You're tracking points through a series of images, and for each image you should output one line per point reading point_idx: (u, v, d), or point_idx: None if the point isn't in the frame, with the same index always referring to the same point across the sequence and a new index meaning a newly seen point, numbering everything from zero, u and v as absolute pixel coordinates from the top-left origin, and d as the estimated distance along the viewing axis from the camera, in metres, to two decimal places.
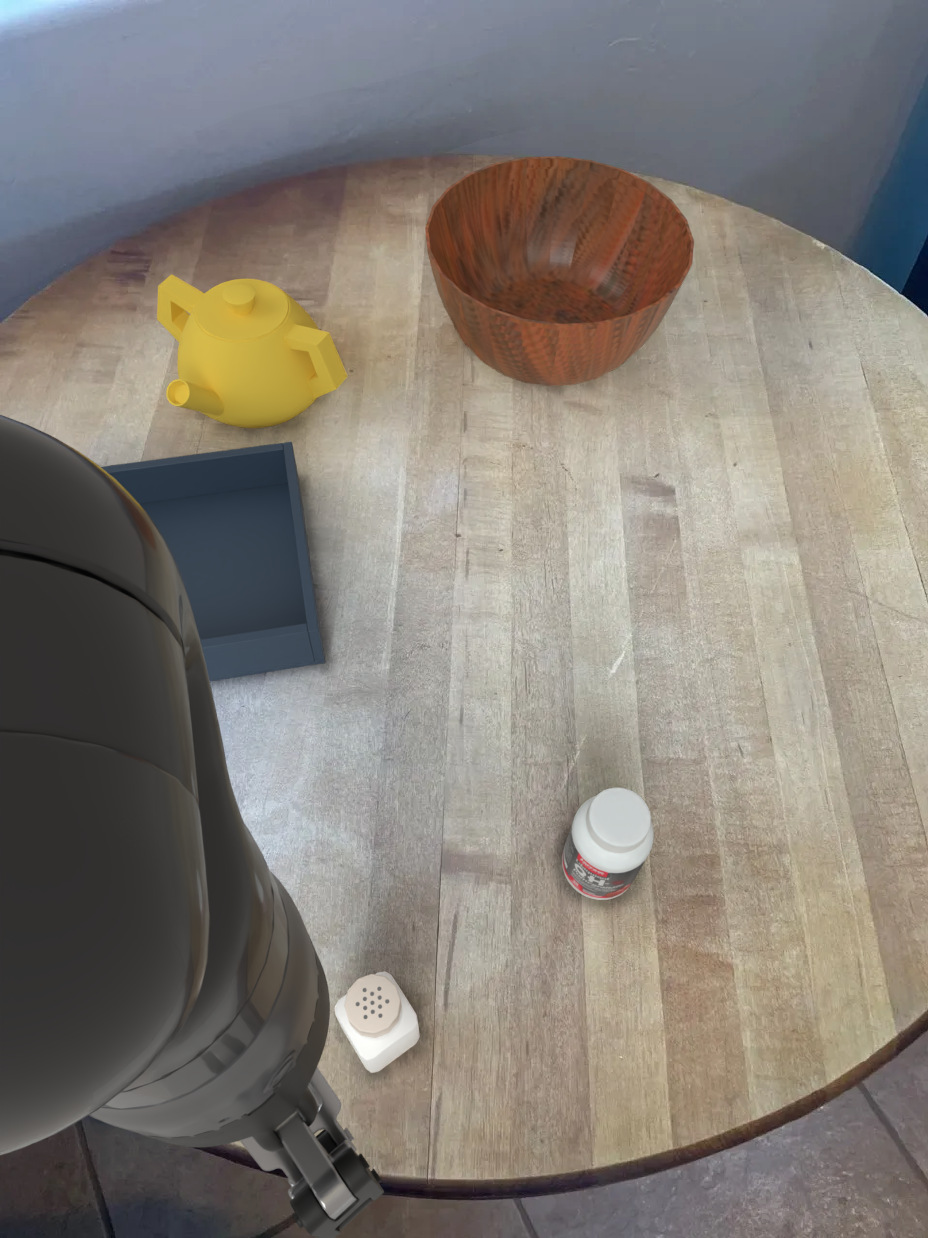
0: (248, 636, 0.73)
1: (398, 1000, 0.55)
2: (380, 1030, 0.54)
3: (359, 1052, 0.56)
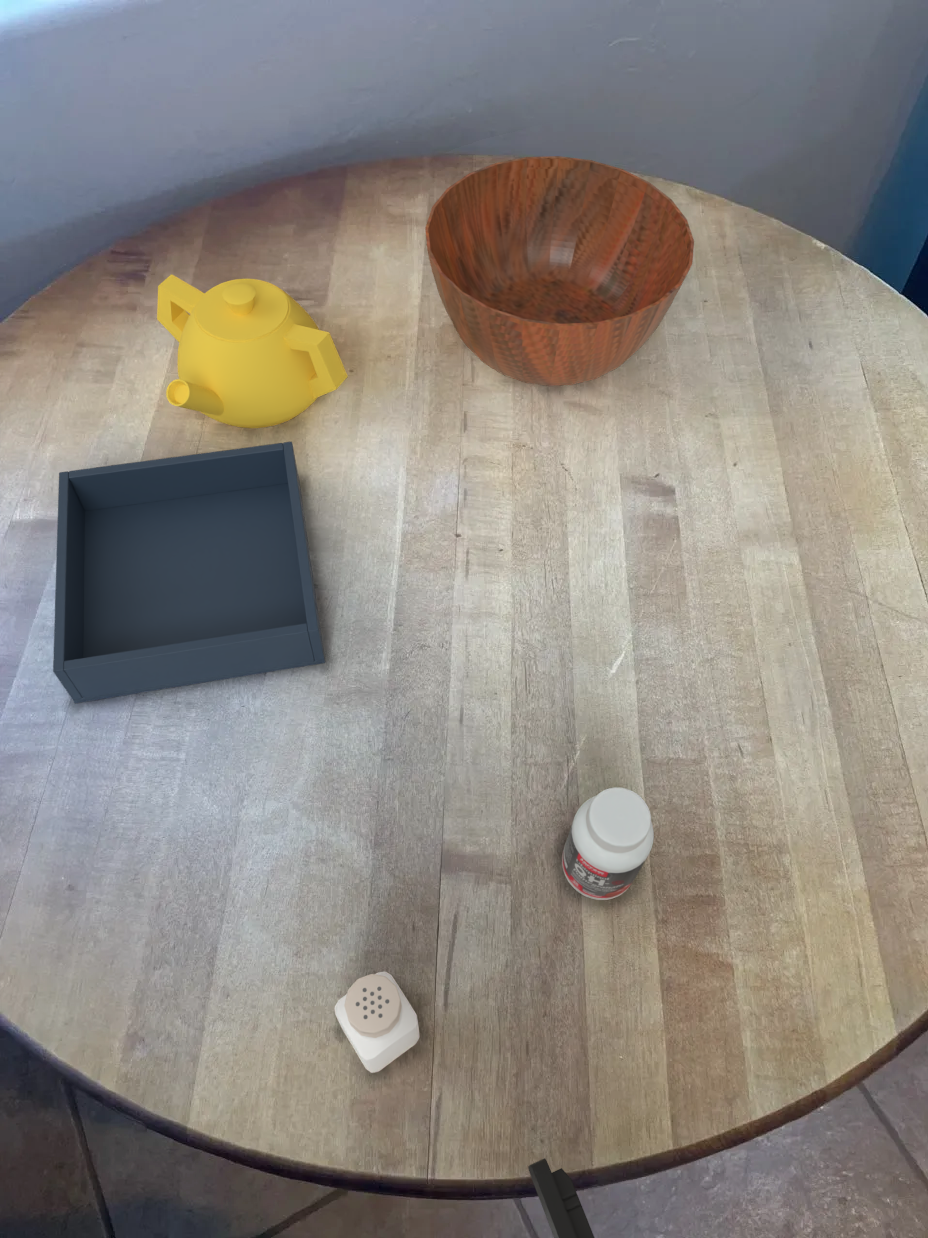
0: (248, 636, 0.73)
1: (398, 1000, 0.55)
2: (380, 1030, 0.54)
3: (359, 1052, 0.56)
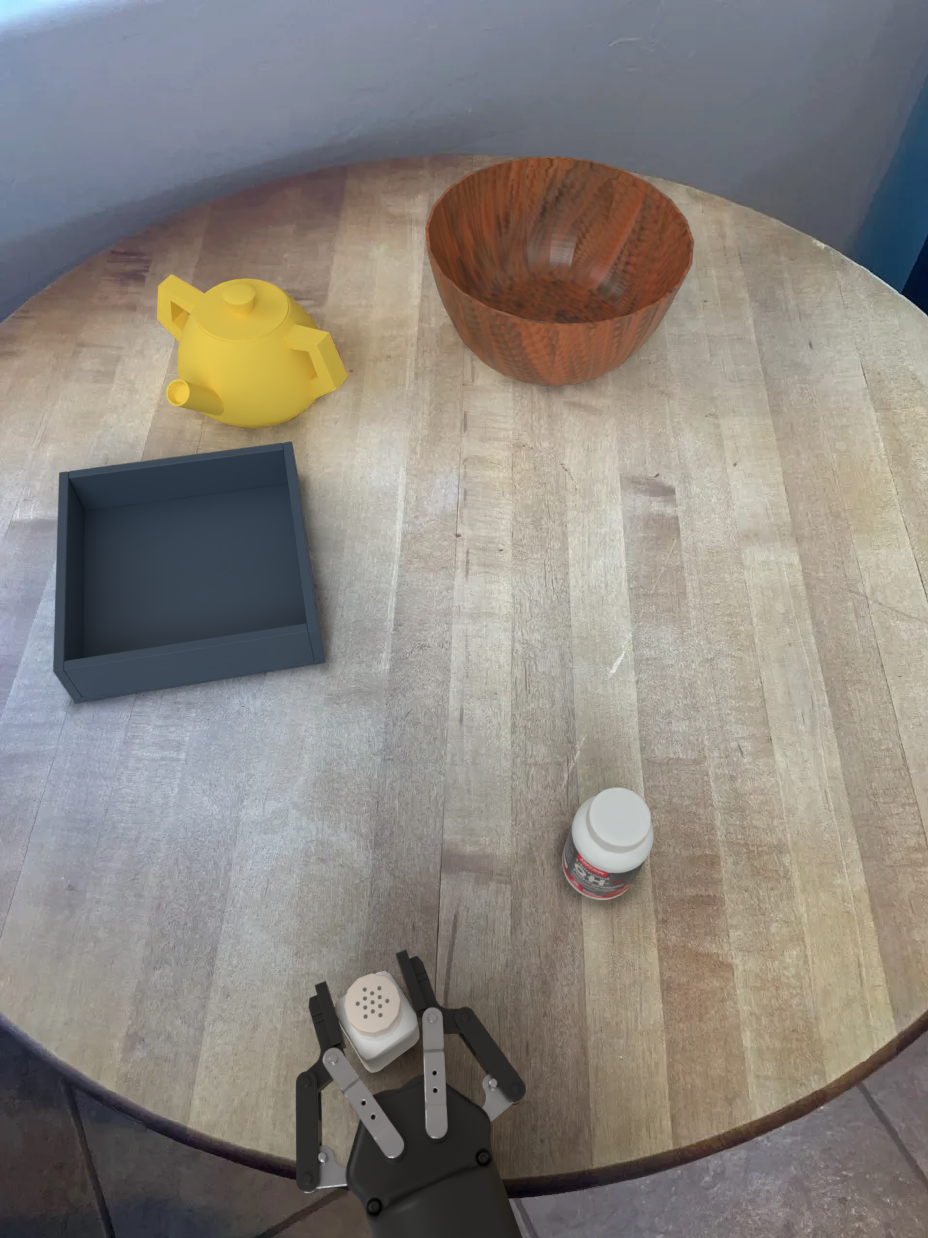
0: (248, 636, 0.73)
1: (398, 1000, 0.55)
2: (380, 1030, 0.54)
3: (359, 1052, 0.56)
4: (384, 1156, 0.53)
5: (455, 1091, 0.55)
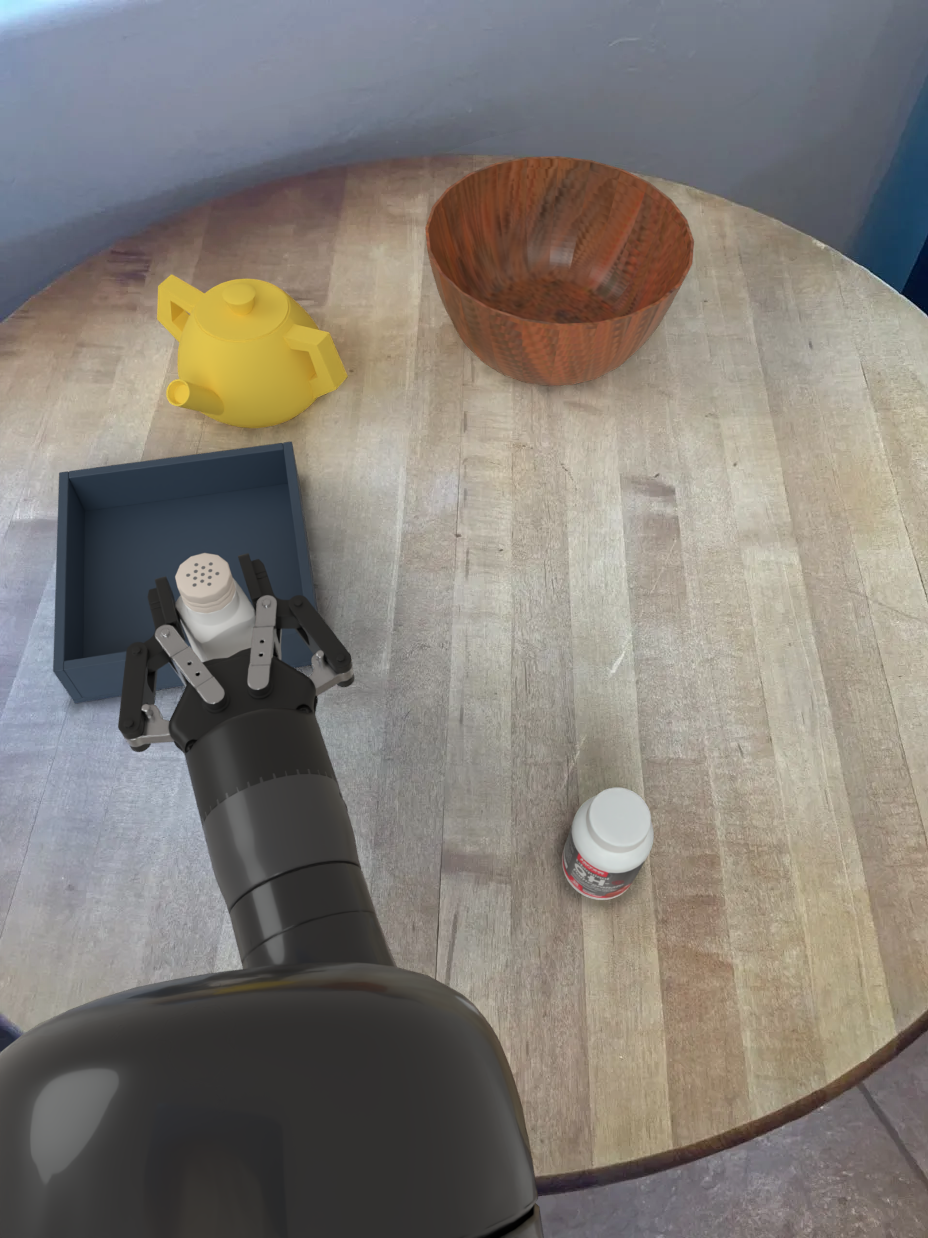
0: None
1: (228, 572, 0.56)
2: (208, 596, 0.55)
3: (194, 635, 0.58)
4: (206, 707, 0.54)
5: None
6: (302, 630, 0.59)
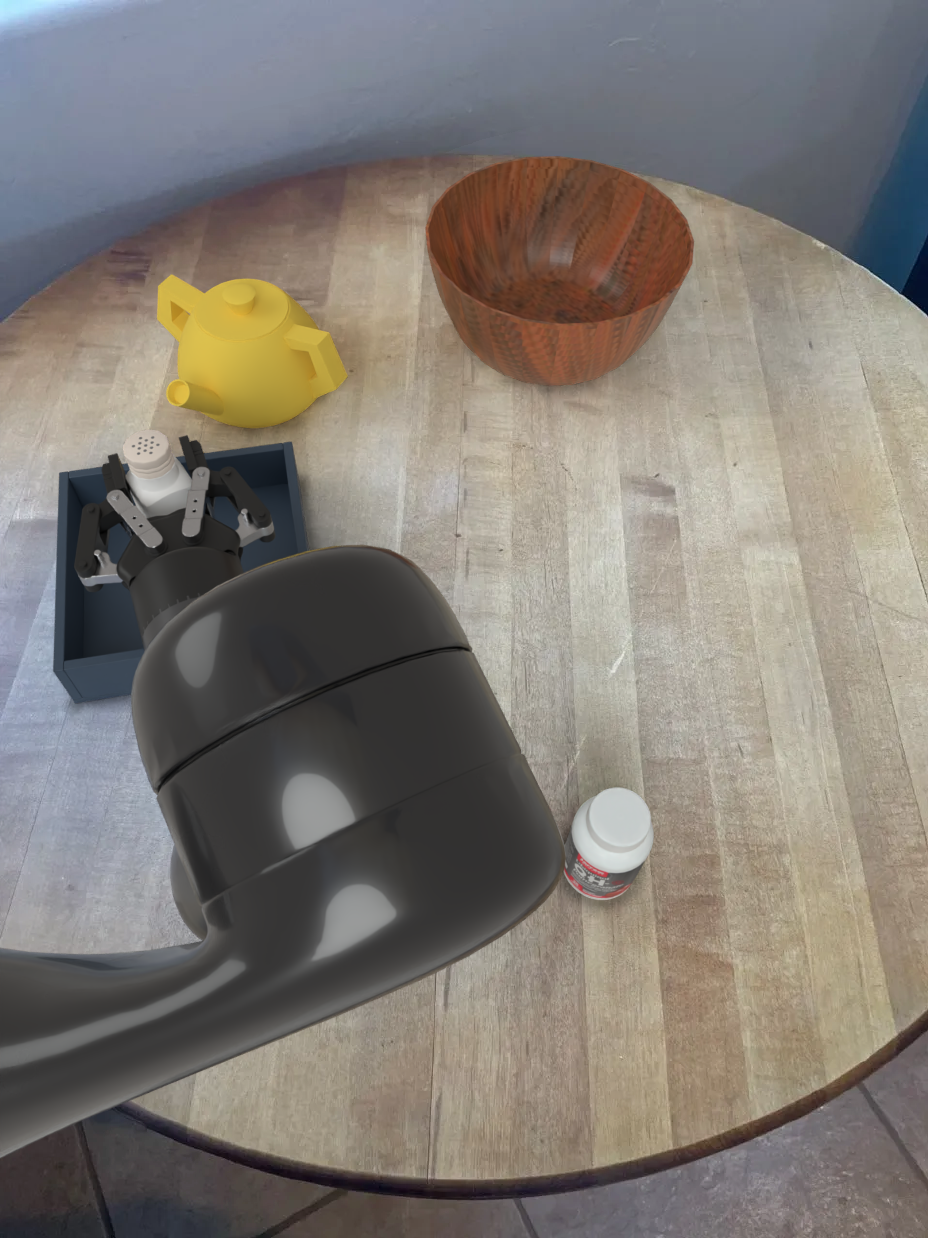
0: None
1: (167, 444, 0.67)
2: (149, 462, 0.66)
3: (140, 500, 0.69)
4: (147, 551, 0.65)
5: (213, 518, 0.67)
6: (232, 497, 0.70)
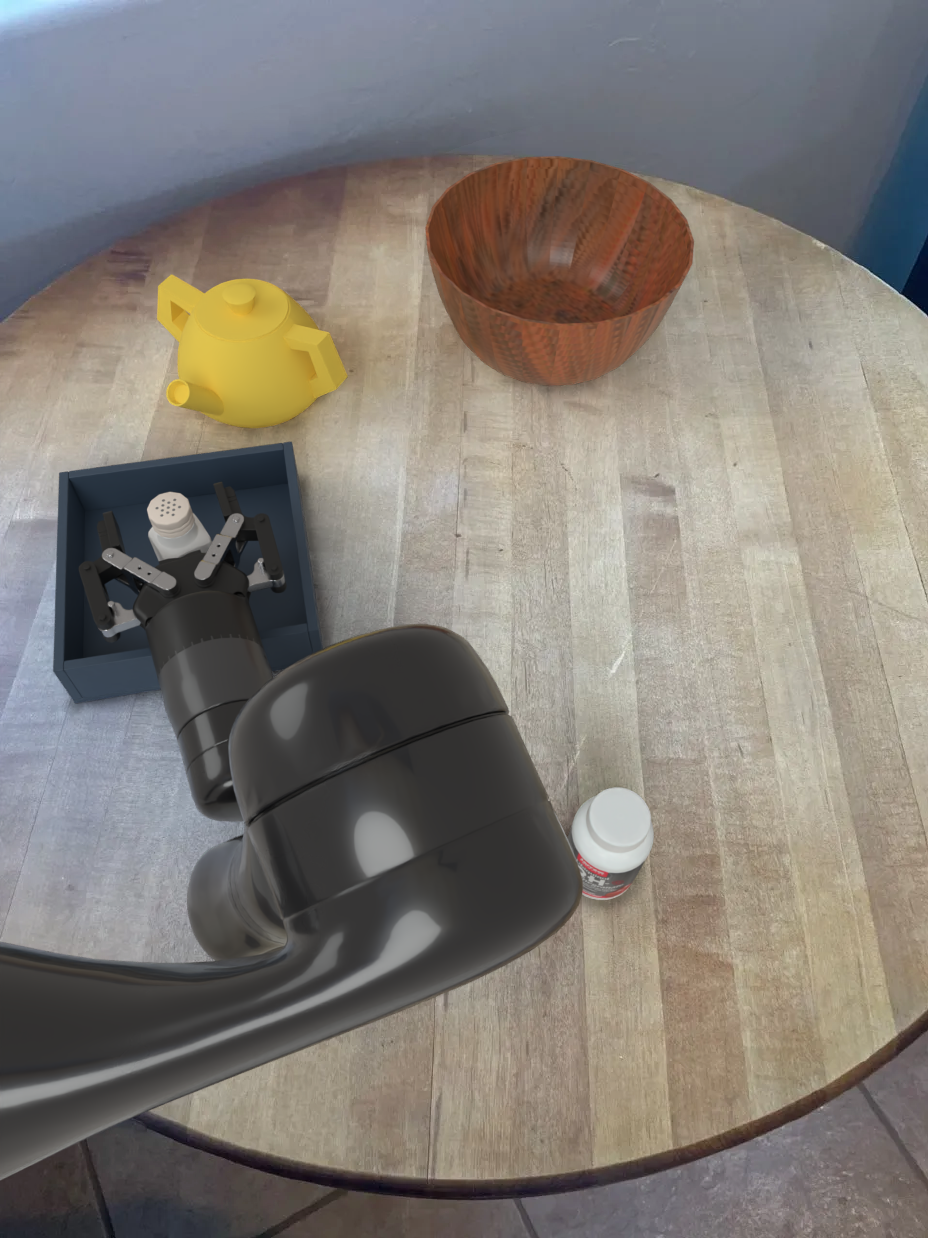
0: None
1: (188, 506, 0.73)
2: (172, 523, 0.72)
3: (163, 556, 0.74)
4: (164, 595, 0.69)
5: (223, 560, 0.71)
6: None
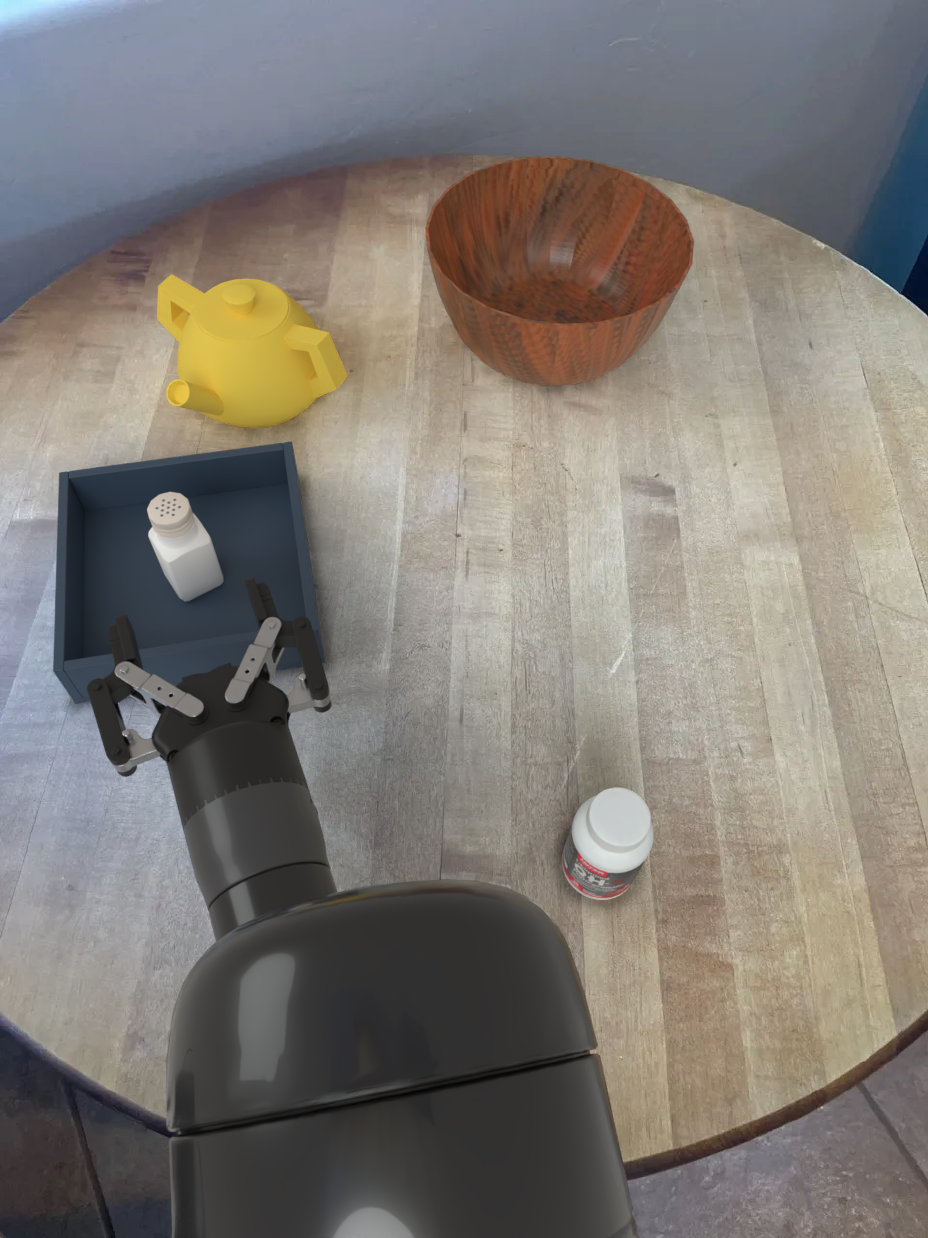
0: (248, 636, 0.73)
1: (188, 506, 0.73)
2: (172, 523, 0.72)
3: (163, 556, 0.74)
4: (189, 721, 0.58)
5: (258, 676, 0.60)
6: None
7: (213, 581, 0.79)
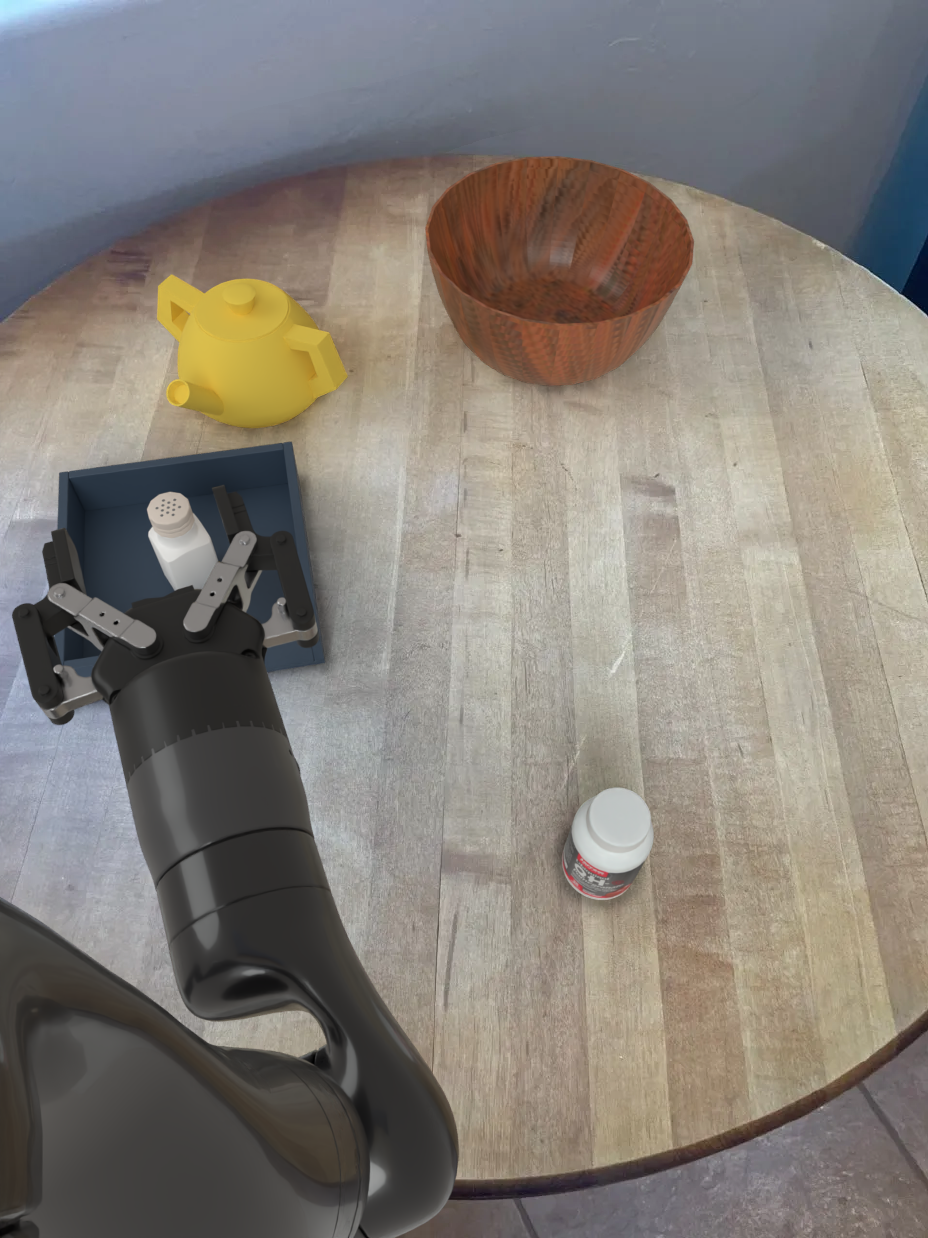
0: None
1: (188, 506, 0.73)
2: (172, 523, 0.72)
3: (163, 556, 0.74)
4: (138, 655, 0.46)
5: (227, 601, 0.48)
6: None
7: None
